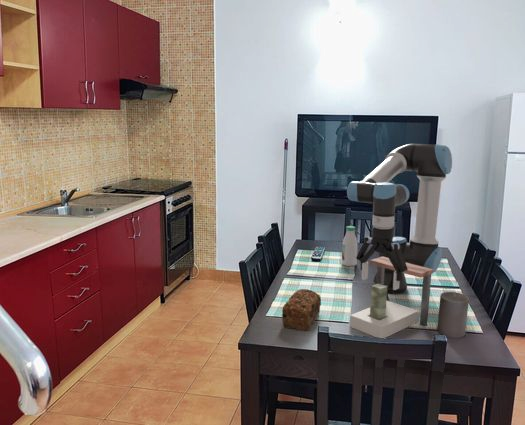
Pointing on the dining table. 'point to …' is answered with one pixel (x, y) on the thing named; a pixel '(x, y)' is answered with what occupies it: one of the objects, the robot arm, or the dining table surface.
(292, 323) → the bread
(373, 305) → the peg
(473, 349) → the dining table surface
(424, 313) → the socket stand
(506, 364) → the dining table surface
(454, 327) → the pillar candle
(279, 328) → the dining table surface
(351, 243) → the milk bottle
